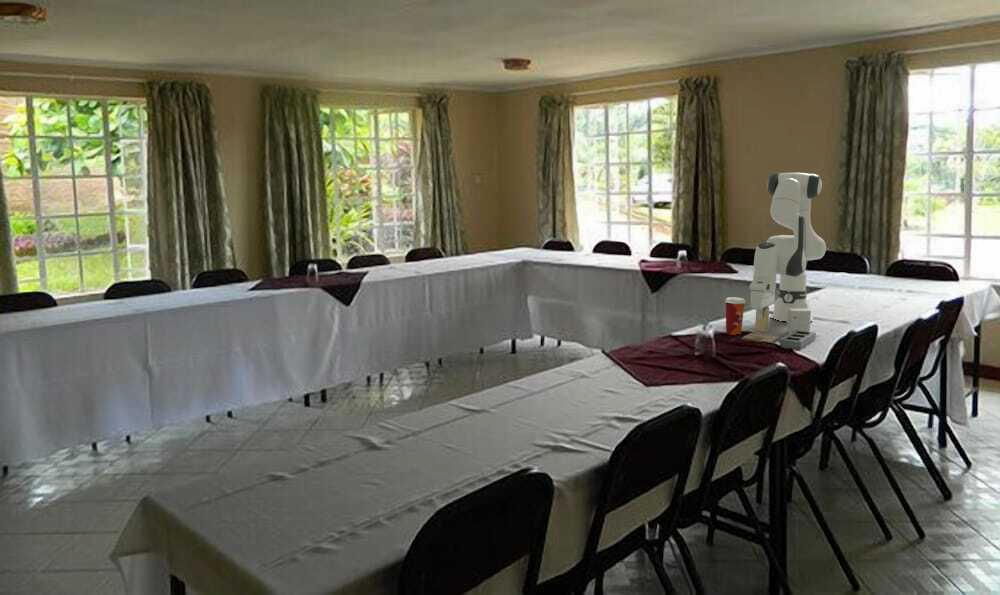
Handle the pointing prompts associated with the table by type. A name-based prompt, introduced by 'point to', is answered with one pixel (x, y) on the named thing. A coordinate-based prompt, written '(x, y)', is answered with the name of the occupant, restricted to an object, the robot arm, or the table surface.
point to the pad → (760, 338)
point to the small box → (798, 320)
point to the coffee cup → (734, 315)
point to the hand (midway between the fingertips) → (762, 317)
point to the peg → (762, 321)
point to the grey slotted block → (797, 339)
